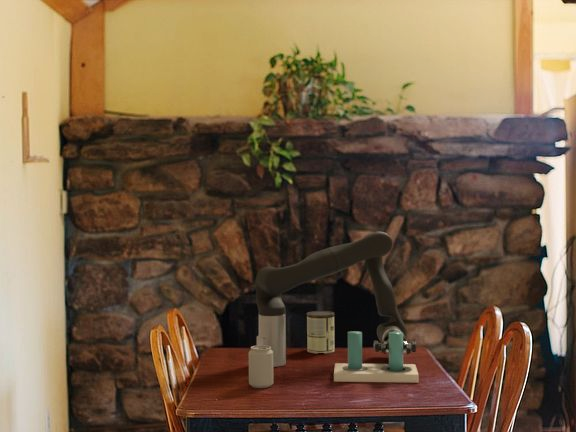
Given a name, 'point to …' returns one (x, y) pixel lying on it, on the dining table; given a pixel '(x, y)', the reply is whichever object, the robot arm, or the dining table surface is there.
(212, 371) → the dining table surface
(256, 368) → the can
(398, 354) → the pin
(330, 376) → the dining table surface
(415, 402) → the dining table surface
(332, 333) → the coffee can
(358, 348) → the seated pin
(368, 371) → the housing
